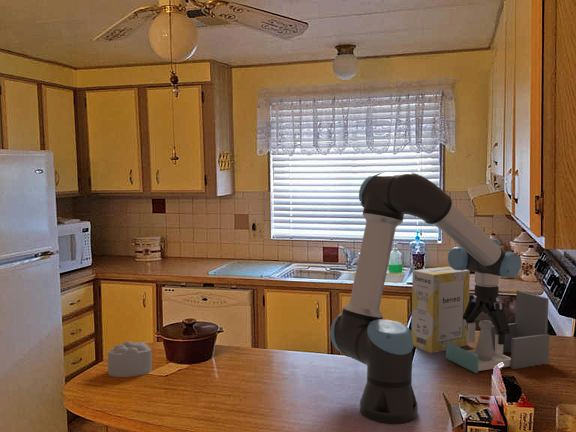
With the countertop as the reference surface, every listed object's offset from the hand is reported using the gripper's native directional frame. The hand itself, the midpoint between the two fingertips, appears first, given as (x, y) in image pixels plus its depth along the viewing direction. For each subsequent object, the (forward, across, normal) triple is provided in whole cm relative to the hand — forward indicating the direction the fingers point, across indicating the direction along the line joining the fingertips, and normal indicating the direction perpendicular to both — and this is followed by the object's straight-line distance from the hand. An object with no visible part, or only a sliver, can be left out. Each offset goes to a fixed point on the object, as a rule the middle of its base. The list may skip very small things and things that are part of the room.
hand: (484, 347), depth 185 cm
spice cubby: (+5, 0, -12) cm, 13 cm away
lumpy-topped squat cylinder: (+6, +33, +112) cm, 117 cm away
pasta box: (+6, +22, +2) cm, 23 cm away
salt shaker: (+4, 0, 0) cm, 4 cm away
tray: (+5, 0, +1) cm, 5 cm away
